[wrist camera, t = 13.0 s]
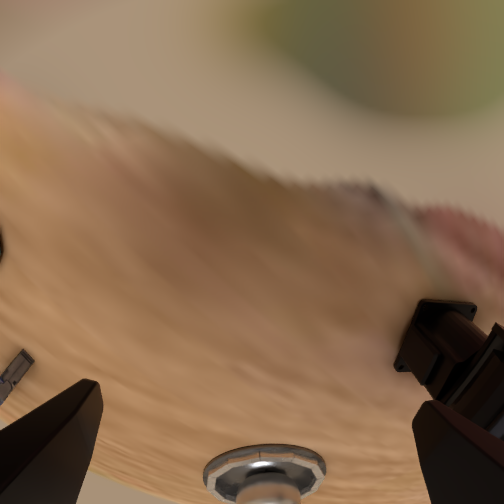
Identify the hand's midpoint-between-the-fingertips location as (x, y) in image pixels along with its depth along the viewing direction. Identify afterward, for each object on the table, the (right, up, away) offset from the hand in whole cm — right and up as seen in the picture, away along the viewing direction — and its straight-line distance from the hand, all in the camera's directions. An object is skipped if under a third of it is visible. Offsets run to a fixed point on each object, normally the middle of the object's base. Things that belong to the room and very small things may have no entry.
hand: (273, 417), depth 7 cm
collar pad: (+1, -20, +20) cm, 28 cm away
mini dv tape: (-24, -7, +15) cm, 29 cm away
